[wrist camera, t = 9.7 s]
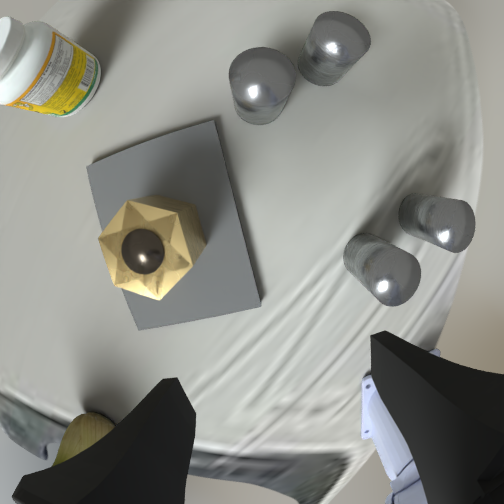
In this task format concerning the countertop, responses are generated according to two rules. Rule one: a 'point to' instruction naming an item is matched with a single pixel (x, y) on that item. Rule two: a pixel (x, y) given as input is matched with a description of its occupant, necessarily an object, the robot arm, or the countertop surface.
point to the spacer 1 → (261, 84)
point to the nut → (152, 244)
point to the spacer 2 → (333, 47)
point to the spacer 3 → (382, 268)
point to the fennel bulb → (82, 435)
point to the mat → (210, 215)
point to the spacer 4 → (438, 220)
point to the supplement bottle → (44, 69)
